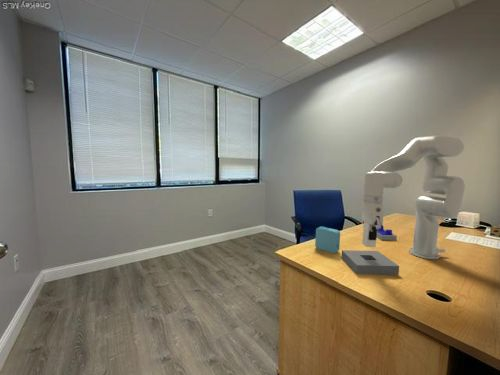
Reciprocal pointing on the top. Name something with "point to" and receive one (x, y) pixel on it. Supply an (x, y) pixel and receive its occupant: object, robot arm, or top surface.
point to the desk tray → (386, 236)
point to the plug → (367, 236)
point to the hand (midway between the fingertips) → (369, 237)
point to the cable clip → (381, 231)
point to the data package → (327, 239)
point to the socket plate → (369, 262)
